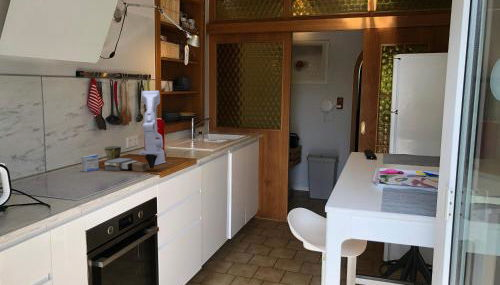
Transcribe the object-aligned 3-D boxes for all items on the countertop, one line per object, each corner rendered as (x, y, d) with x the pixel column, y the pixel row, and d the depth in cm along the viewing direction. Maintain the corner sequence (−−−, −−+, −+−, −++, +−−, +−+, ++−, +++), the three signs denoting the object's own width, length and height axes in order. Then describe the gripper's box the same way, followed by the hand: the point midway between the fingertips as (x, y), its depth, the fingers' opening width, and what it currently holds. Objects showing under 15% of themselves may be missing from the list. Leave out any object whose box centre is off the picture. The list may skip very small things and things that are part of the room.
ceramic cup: (104, 162, 267) (103, 146, 266) (120, 160, 271) (119, 145, 270) (106, 165, 255) (105, 149, 254) (124, 164, 260) (122, 147, 258)
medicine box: (86, 172, 238) (85, 156, 237) (82, 171, 241) (80, 156, 239) (99, 169, 244) (97, 154, 243) (94, 168, 247) (93, 154, 246)
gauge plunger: (127, 165, 249) (126, 159, 249) (139, 166, 246) (138, 160, 245) (113, 169, 239) (112, 162, 238) (125, 170, 235) (124, 163, 235)
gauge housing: (119, 165, 254) (119, 157, 253) (133, 166, 249) (132, 158, 249) (104, 169, 243) (104, 161, 242) (118, 170, 238) (117, 162, 238)
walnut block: (138, 168, 244) (138, 162, 243) (148, 170, 240) (148, 163, 239) (132, 170, 240) (131, 163, 239) (142, 171, 236) (141, 164, 235)
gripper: (135, 144, 234) (136, 168, 236) (156, 145, 228) (158, 170, 229) (143, 142, 240) (144, 166, 242) (164, 143, 234) (165, 167, 236)
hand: (151, 167), depth 236 cm, fingers closed
